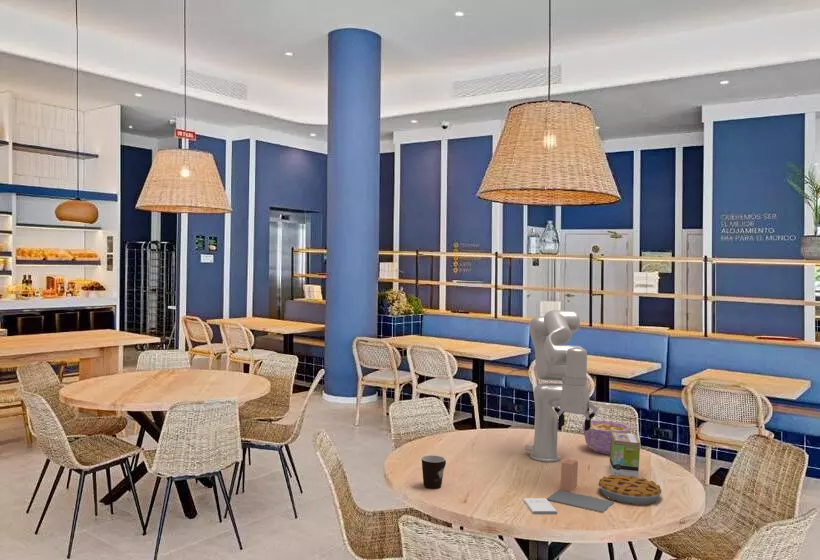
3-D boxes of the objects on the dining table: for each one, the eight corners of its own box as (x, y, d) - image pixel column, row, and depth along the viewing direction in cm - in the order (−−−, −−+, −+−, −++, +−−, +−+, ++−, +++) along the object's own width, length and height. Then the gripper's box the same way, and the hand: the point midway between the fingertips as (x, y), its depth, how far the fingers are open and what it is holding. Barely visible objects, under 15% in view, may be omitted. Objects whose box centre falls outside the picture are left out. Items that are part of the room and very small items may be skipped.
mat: (546, 499, 239) (546, 498, 239) (558, 490, 249) (558, 489, 249) (603, 513, 228) (603, 511, 228) (613, 502, 238) (613, 501, 238)
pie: (606, 481, 262) (607, 468, 262) (666, 493, 251) (667, 479, 250) (590, 497, 243) (590, 483, 243) (654, 511, 232) (655, 496, 232)
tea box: (639, 480, 264) (640, 442, 264) (612, 477, 266) (613, 440, 266) (634, 469, 279) (636, 433, 279) (608, 466, 281) (610, 430, 281)
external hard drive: (532, 516, 225) (523, 502, 237) (557, 516, 225) (546, 502, 238) (533, 511, 225) (523, 497, 237) (557, 511, 225) (546, 497, 238)
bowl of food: (603, 443, 318) (604, 418, 317) (637, 454, 301) (638, 428, 300) (571, 448, 307) (572, 422, 307) (605, 460, 290) (606, 433, 290)
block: (560, 489, 250) (561, 462, 250) (566, 485, 255) (567, 458, 255) (571, 491, 248) (572, 464, 248) (576, 487, 253) (577, 460, 253)
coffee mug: (427, 491, 243) (428, 463, 243) (416, 483, 251) (417, 456, 251) (455, 487, 249) (456, 459, 249) (443, 480, 256) (444, 453, 256)
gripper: (549, 380, 254) (548, 426, 254) (595, 385, 244) (593, 433, 244) (557, 378, 260) (556, 423, 260) (602, 383, 251) (600, 430, 251)
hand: (574, 428), depth 252 cm, fingers open, 9 cm apart
